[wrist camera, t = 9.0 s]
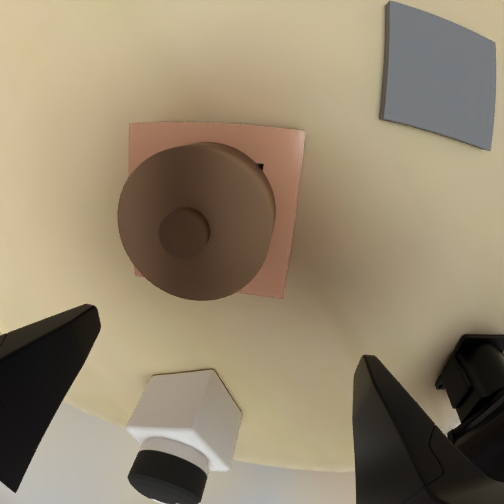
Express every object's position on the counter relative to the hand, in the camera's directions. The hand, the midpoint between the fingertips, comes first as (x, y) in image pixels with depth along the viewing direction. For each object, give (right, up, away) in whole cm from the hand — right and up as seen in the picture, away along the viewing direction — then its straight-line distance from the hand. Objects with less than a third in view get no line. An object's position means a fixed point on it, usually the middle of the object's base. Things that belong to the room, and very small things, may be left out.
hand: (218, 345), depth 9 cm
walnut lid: (-1, +5, +6) cm, 8 cm away
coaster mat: (+13, +14, +5) cm, 19 cm away
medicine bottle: (-4, -11, +19) cm, 22 cm away
